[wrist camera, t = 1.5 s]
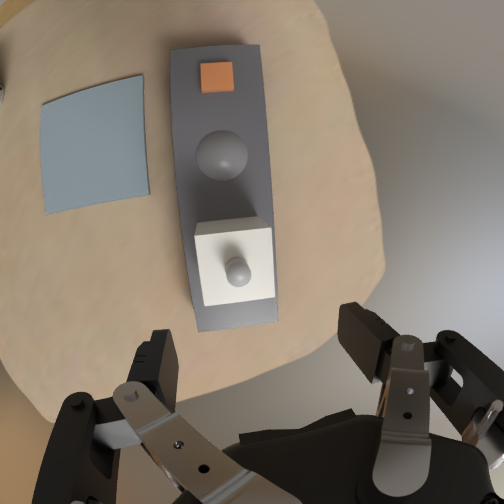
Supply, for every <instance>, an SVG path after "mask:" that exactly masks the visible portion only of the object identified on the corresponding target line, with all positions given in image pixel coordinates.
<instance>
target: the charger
mask: <svg viewBox="0 0 504 504" xmlns="http://www.w3.org/2000/svg"><path fill="white" fill-rule="evenodd" d="M194 237H195V245H196V252H197V260H198V267H199V274H200V281H201V287H202V294H203V300H204V306H212V305H220V304H228V303H236V302H244V301H251V300H259V299H266V298H273V297H275V285H274V265H273V246H272V229H271V227H270V226H269V225H268V224H266V223H265V222H264V221H263V220H261V219H260V218H259V217H258V216H255V217H245V218H235V219H226V220H217V221H208V222H199V223H197V226H196V231H195V235H194Z"/></svg>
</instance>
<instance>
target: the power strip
mask: <svg viewBox="0 0 504 504" xmlns="http://www.w3.org/2000/svg"><path fill="white" fill-rule="evenodd" d="M170 95H171V119H172V137H173V151H174V164H175V175H176V186H177V196H178V205H179V214H180V222H181V230H182V237H183V245H184V252H185V259H186V265H187V272H188V278H189V284H190V290H191V296H192V302H193V307H194V313H195V318H196V323H197V328H198V332H205V331H214V330H222V329H230V328H238V327H245V326H252V325H259V324H266V323H272V322H278V321H279V318H278V292H277V270H276V250H275V232H274V214H273V198H272V183H271V169H270V155H269V142H268V130H267V118H266V106H265V95H264V84H263V74H262V64H261V54H260V45H217V46H203V47H192V48H183V49H176V50H170ZM255 216H258V217H259V218H260V219H261V220H263V221H264V222H265V223H266V224H268V225H269V226H270V227H271V229H272V246H273V265H274V285H275V297H273V298H266V299H259V300H251V301H244V302H236V303H228V304H220V305H212V306H204V300H203V294H202V287H201V281H200V274H199V267H198V260H197V252H196V245H195V237H194V235H195V231H196V226H197V223H199V222H208V221H217V220H226V219H235V218H245V217H255Z"/></svg>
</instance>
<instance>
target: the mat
mask: <svg viewBox="0 0 504 504" xmlns="http://www.w3.org/2000/svg"><path fill="white" fill-rule="evenodd" d="M40 152H41V172H42V184H43V194H44V202H45V210H46V215H48V214H52V213H56V212H61V211H65V210H70V209H75V208H79V207H84V206H89V205H94V204H100V203H105V202H110V201H116V200H122V199H128V198H134V197H140V196H146V195H150V188H149V178H148V167H147V154H146V139H145V117H144V76H143V75H141V76H136V77H131V78H127V79H123V80H118V81H114V82H111V83H107V84H103V85H100V86H96V87H93V88H89V89H86V90H83V91H80V92H77V93H74V94H71V95H68V96H65V97H63V98H60V99H57V100H55V101H52V102H50V103H47V104H45V105H42V106H41V121H40Z"/></svg>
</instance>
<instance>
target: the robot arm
mask: <svg viewBox="0 0 504 504" xmlns="http://www.w3.org/2000/svg"><path fill="white" fill-rule="evenodd" d="M338 339H339V342H340V344H341V345H342V346H343V348H344V349H345V350H346V352H347V353H348V354H349V356H351V358H352V359H353V361H354V362H355V363H356V365H357V366H358V367H359V368H360V370H361V371H362V372H363V374H364V375H365V376H366V378H367V379H368V380H369V382H370V383H371V384H374V383H376V382H379V381H381V382H382V383H383V384H382V387H381V391H380V397H379V402H378V407H377V411H376V415H375V416H374V415H355V413H354V412H353V410H352V409H348V410H345V411H341V412H338V413H335V414H332V415H328V416H325V417H324V418H321V419H320V420H317V421H316V422H313V423H312V424H309V425H308V426H305V427H303V428H301V429H285V430H284V429H282V430H263V431H257V432H251V433H244V434H239V439H240V442H238V443H235V444H233V445H231V446H229V447H227V448H225V449H223V450H222V451H221V450H219V449H218V448H217V447H216V446H214V445H213V444H212V443H211V442H210V441H208V440H207V439H206V438H205V437H204V436H202V435H201V434H200V433H199V432H198V431H197V430H196V429H195V428H193V427H192V426H191V425H190V424H189V423H188V422H187V421H186V420H185V419H184V418H183V417H181V415H179V414H178V413H177V412H175V404H176V392H177V380H178V370H179V365H178V358H177V354H176V350H175V346H174V343H173V339H172V335H171V331H170V330H169V329H163V330H153V333H152V336H151V339H150V341H144V342H143V343H142V344H141V345H140V346H139V347H138V348H137V351H136V354H135V357H134V360H133V363H132V366H131V369H130V372H129V375H128V378H127V381H126V383H123V384H121V385H120V386H118V387H117V388H116V389H115V390H114V392H113V396H112V397H109V398H105V399H100V400H95V401H94V399H93V398H92V396H91V395H90V394H88V393H86V392H76V393H73V394H71V395H69V396H68V397H67V398H66V399H65V400H64V402H63V404H62V407H61V409H60V412H59V414H58V417H57V419H56V422H55V425H54V428H53V431H52V433H51V436H50V439H49V442H48V445H47V448H46V451H45V454H44V457H43V461H42V464H41V467H40V471H39V475H38V478H37V482H36V487H35V490H34V495H33V499H32V504H116V492H117V479H118V468H119V459H120V450H121V448H123V447H128V446H133V445H137V444H140V445H141V447H142V448H143V449H144V451H145V452H146V453H147V454H148V456H149V457H150V458H151V459H152V460H153V462H154V463H155V464H156V465H157V466H158V468H159V469H160V470H161V471H162V472H163V473H164V474H165V476H166V477H167V478H168V479H169V480H170V482H171V483H172V484H173V485H174V486H175V487H176V488H177V489H178V490H179V491H180V492H181V493H182V494H181V495H180V496H179V497H178V498H177V499H176V500H175V501H174V502H173V503H172V504H504V499H502V498H500V497H499V496H498V495H496V493H495V492H494V489H493V486H492V483H491V480H490V475H489V469H494V468H497V467H499V466H500V465H501V464H502V463H503V462H504V371H503V370H502V369H501V368H500V367H498V366H497V365H496V364H495V363H494V362H493V361H492V360H490V359H489V358H488V357H487V356H486V355H484V354H483V353H482V352H481V351H480V350H479V349H477V348H476V347H475V346H474V345H473V344H471V343H470V342H469V341H468V340H466V339H465V338H464V337H463V336H461V335H460V334H459V333H457V332H455V331H451V330H444V331H441V332H439V333H438V334H437V337H436V341H435V342H429V343H422V341H421V340H420V339H419V338H417V337H415V336H412V335H400V334H398V333H397V332H396V331H395V330H394V329H393V328H392V327H391V326H390V325H388V324H387V323H385V321H384V320H383V319H381V318H380V317H379V316H378V315H377V314H376V313H374V312H372V311H369V310H367V309H364V308H363V307H361V306H360V305H359V304H358V303H357V302H351V303H346V304H342V305H341V306H340V308H339V320H338ZM453 369H455V370H456V371H457V372H458V373H459V374H460V375H461V376H462V378H463V387H462V388H461V387H460V386H459V385H458V384H457V383H456V381H455V380H454V379H453V378H452V377H451V374H452V371H453ZM430 397H431V398H432V400H433V401H434V402H435V403H436V404H437V406H438V407H439V408H440V409H441V411H442V412H443V413H444V414H445V415H446V417H447V418H448V419H449V421H450V422H451V423H452V424H453V426H454V427H455V428H456V430H457V431H458V432H459V433H460V435H461V436H462V441H458V440H454V439H450V438H446V437H442V436H439V435H435V434H432V433H429V419H430Z"/></svg>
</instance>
